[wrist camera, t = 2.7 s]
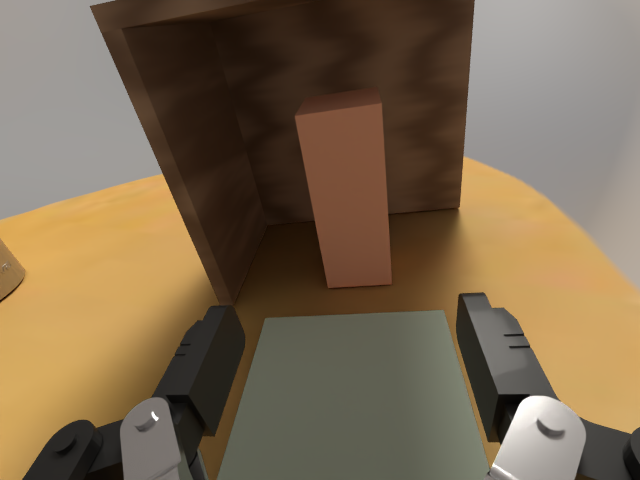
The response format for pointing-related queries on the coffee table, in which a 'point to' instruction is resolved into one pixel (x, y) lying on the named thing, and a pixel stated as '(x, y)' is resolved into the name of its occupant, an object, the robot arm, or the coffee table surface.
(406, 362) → the sage mat
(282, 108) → the walnut box
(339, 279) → the terracotta block
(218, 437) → the coffee table surface
